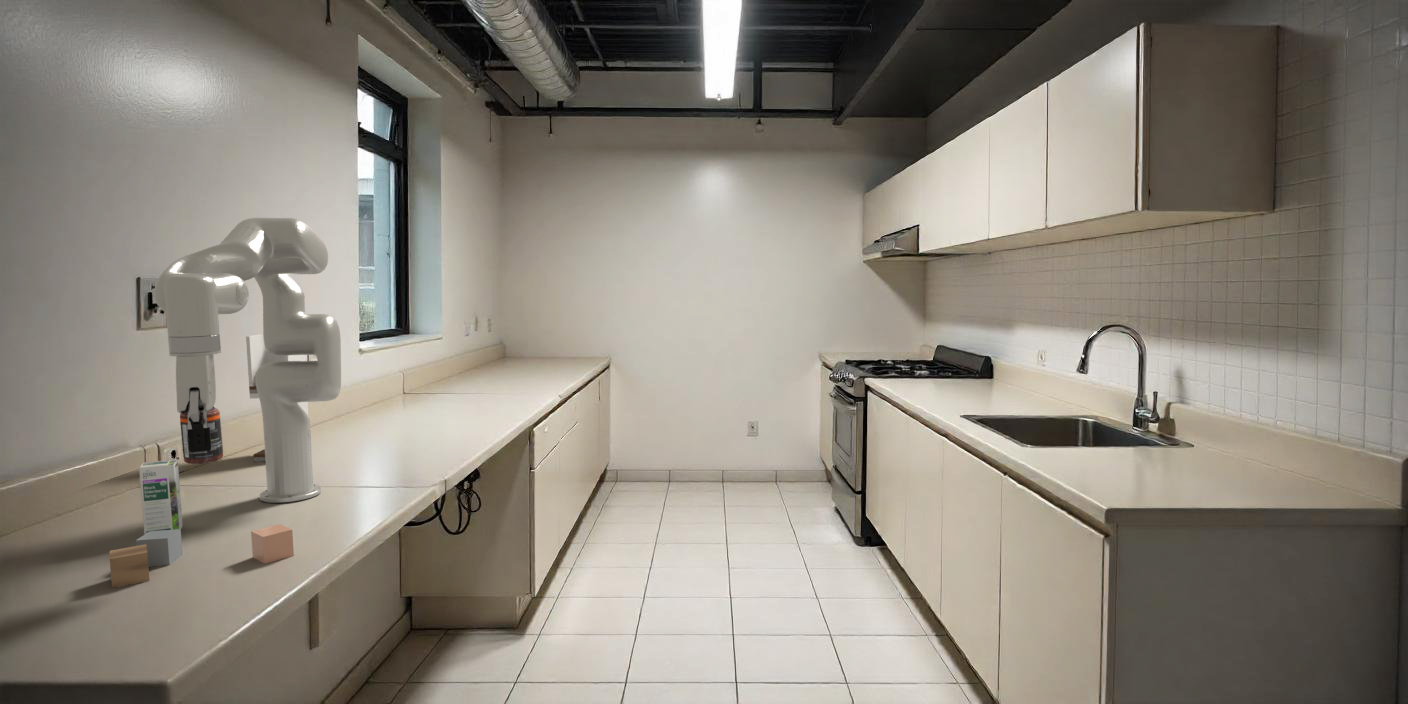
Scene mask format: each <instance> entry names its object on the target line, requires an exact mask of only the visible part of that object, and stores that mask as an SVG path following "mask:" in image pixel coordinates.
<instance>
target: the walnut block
mask: <svg viewBox="0 0 1408 704" xmlns="http://www.w3.org/2000/svg"><path fill="white" fill-rule="evenodd" d="M109 567H110V578H111V588H112V589H115V588H120V587H124V586H123V585H125V586H129V585H128V584H130V585H135V584H139V582H140V583H144V581H145V582H149V581H150V571H149V569H150V568H149V567H148V555H147V545H146V544H145V545H139V546H136V545H135V546H128V547H124V548H117V549H113V550H109ZM134 583H135V584H134ZM119 586H120V587H119ZM114 587H115V588H114Z"/></svg>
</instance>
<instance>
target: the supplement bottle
mask: <svg viewBox="0 0 1408 704" xmlns="http://www.w3.org/2000/svg"><path fill="white" fill-rule="evenodd" d="M203 405H204V403H203ZM187 406H188V404H187ZM199 410H204V407H202V408H199ZM207 412H208V413H207V417H208V427H210V436H211V450H209V451H200V452H190V451H189V444H188V431H187V430H188V408H187V409H186V410H185V411H184V412H183V413H181V414H180V413H179V421H180V422H179V423H180V432H181V444H182V445H181V446H182V455H183V461H184V462H185V463H186V464H189V465H200V464H201V465H203V464H208V463H212V462H217V461H219V460H222V458H223V457H224V447H223V446H224V445H223V437H222V435H223V434H222V424H221V413H220V410H219V409H218V408H216V407H215V405H214V406H213V407H212V409H211V410H209V411H207ZM202 416H203V415H202Z"/></svg>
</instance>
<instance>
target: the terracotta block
mask: <svg viewBox="0 0 1408 704" xmlns="http://www.w3.org/2000/svg"><path fill="white" fill-rule="evenodd" d="M250 533H251V535H250V537H251V549H252V551H251V552H252V558H253V559H255V560H257V561H259V562H261V563H263V565H264V564H268V563H272V562H275V561H279V560H282V559H286V558H290V557H291V558H292V557H293V556H295V553H294V537H293V529H292V528H289V527H287V526H285V525H284V524H283V525H282V524H275V525H271V526H268V527H264V528H263V527H262V528H258V529H256V530H251V531H250Z"/></svg>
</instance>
